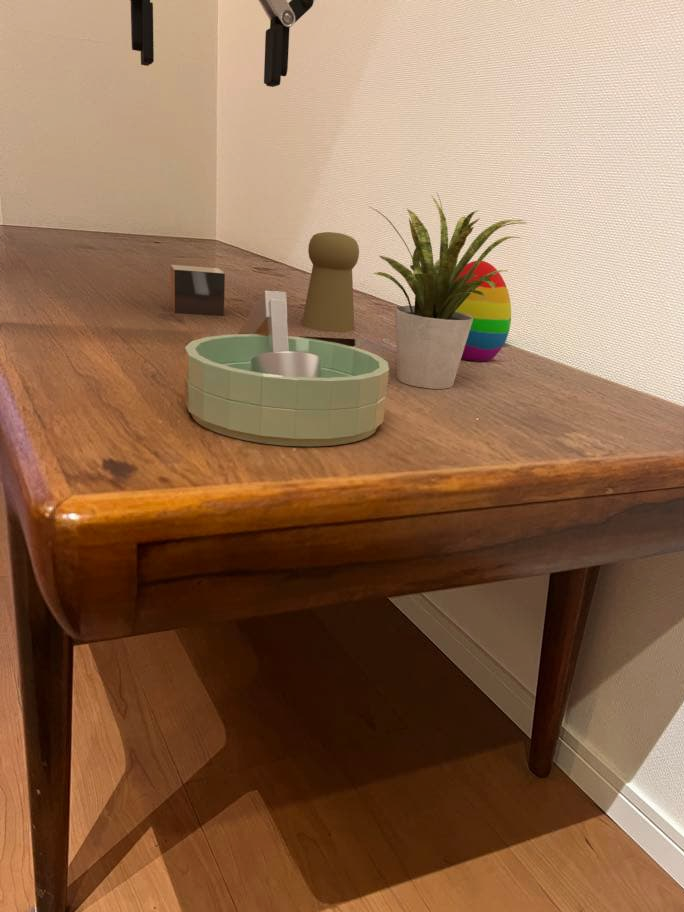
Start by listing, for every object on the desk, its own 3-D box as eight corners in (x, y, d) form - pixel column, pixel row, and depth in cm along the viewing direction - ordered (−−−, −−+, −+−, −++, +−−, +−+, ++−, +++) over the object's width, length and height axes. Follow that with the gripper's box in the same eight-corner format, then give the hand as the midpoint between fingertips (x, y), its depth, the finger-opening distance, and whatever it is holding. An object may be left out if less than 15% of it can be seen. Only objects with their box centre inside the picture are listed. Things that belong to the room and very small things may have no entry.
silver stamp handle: (219, 427, 70) (214, 338, 70) (274, 427, 72) (269, 341, 72) (259, 385, 53) (253, 267, 53) (330, 386, 55) (324, 272, 55)
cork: (317, 348, 80) (324, 234, 75) (288, 336, 84) (294, 227, 80) (365, 347, 84) (376, 238, 79) (336, 335, 88) (344, 231, 83)
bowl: (200, 448, 48) (201, 376, 46) (175, 389, 60) (175, 329, 58) (410, 447, 53) (418, 382, 51) (349, 393, 65) (354, 338, 63)
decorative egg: (518, 361, 87) (535, 267, 82) (473, 367, 81) (488, 266, 77) (462, 345, 91) (475, 256, 87) (415, 349, 86) (427, 254, 82)
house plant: (540, 391, 74) (575, 205, 67) (471, 414, 63) (505, 195, 57) (415, 360, 81) (436, 188, 74) (332, 376, 70) (348, 176, 63)
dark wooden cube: (174, 329, 81) (174, 269, 78) (170, 321, 84) (170, 264, 82) (223, 331, 82) (224, 273, 80) (217, 324, 86) (218, 268, 83)
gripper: (320, -156, 61) (306, 95, 68) (79, -226, 54) (91, 59, 61) (349, -190, 54) (330, 90, 61) (80, -274, 48) (94, 50, 55)
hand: (211, 74), depth 61 cm, fingers open, 9 cm apart
